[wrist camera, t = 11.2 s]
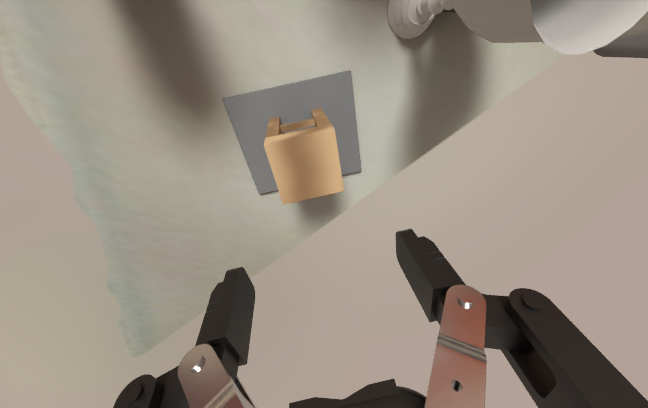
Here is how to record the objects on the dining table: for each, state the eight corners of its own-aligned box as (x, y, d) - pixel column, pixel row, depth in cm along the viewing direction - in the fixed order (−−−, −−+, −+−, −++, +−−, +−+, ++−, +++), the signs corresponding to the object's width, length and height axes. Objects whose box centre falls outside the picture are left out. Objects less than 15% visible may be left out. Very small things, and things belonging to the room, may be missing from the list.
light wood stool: (320, 107, 28) (334, 129, 20) (329, 156, 31) (344, 190, 23) (269, 118, 28) (263, 145, 20) (283, 166, 31) (283, 204, 23)
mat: (349, 70, 27) (350, 70, 26) (360, 169, 33) (361, 170, 33) (223, 98, 26) (222, 99, 26) (259, 192, 33) (259, 194, 32)
